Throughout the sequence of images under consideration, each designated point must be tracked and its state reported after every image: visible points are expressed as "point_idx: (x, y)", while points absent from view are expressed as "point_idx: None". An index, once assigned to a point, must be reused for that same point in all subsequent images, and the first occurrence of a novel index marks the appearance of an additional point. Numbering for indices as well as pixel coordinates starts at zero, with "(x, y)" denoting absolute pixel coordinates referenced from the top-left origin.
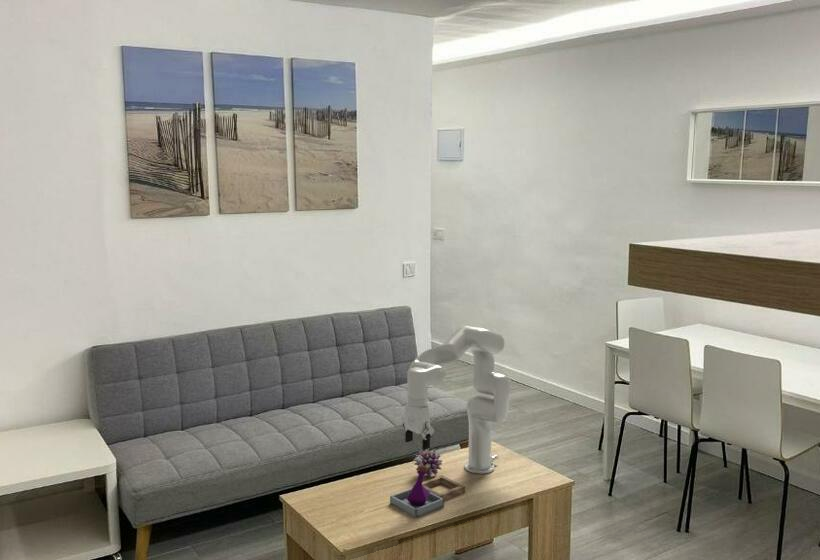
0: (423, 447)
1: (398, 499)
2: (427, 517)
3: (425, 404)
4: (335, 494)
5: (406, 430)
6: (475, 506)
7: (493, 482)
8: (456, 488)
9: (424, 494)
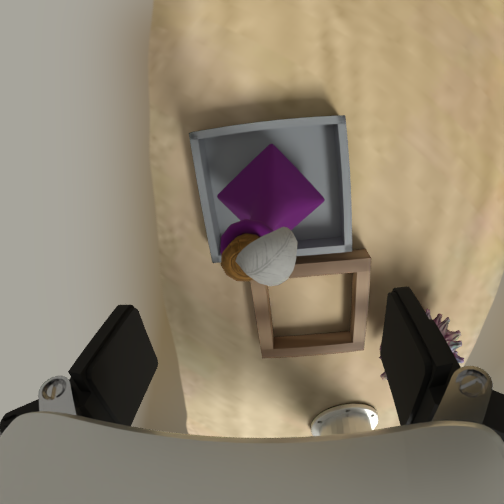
0: (108, 317)
1: (300, 123)
2: (180, 165)
3: None
4: (477, 36)
5: (447, 393)
6: (177, 316)
7: (267, 409)
8: (264, 335)
9: (232, 206)
